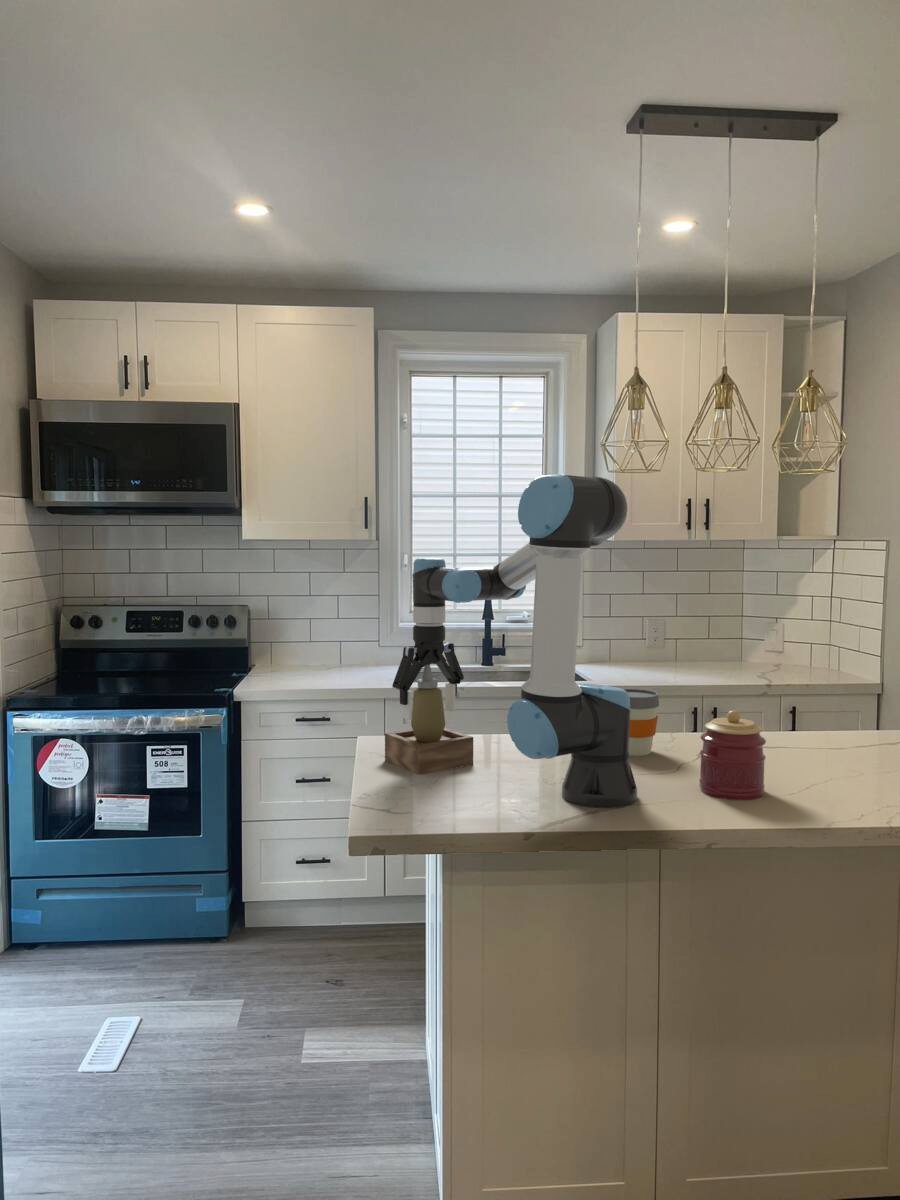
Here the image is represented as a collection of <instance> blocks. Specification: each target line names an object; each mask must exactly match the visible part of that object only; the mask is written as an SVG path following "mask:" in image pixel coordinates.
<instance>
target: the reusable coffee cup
mask: <svg viewBox="0 0 900 1200" xmlns="http://www.w3.org/2000/svg"><path fill="white" fill-rule="evenodd" d="M623 689H624V690H625V691H627V693H628V694H629V697H630V709H631V711H630V736H629V757H630V756H631V757H633V756H634V757H639V756H648V755H651V752H652V746H653V740H654V736H655V735H656V731H657V727H658V726H657V725H658V719H659V716H658V715H657V713H658V708H659V706H660V699H659V693H658V692H656V691H653V690H648V689H641V688H640V689H639V688H623Z"/></svg>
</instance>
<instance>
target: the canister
mask: <svg viewBox="0 0 900 1200" xmlns="http://www.w3.org/2000/svg"><path fill="white" fill-rule="evenodd" d="M704 728H705V729H706V731H705V732H703V733H701V734H700V739H701V740H702V749H701V750H700V752H699V753H700V771H699V772H700V775H699V777H700V778H699V783H698V785H699V789H700V791H701V792H702V793H703V794H705V795H706V796H709V797H713V798H717V799H723V800H728V801H729V800H730V801H751V800H757V799H760V798H763V796H764V794H765V786H766V785H765V760H766V755H765V753H764V745H765V744H766V743H767V739H766V738H764V737H763V736H762V735H761V732H762V731H763V728H762V727H761V726H759V725H757V723H755V722H754V721H753V720H749V719H745V718H741V714H740V713H739V711H737V710H735V709H734V710H729V711H728V712H727V714H726V717H716V718H713V719H712V720H711V721H708V722H706V723H705V725H704Z"/></svg>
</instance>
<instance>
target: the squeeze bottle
mask: <svg viewBox="0 0 900 1200" xmlns="http://www.w3.org/2000/svg"><path fill="white" fill-rule="evenodd" d="M438 682H439V681H438V679H437V678H435V677H433V672H432V668H431V664H430V665H425V666H424V667H423V672H422V677H421V678H419V679H417V688H415V689H414V691H413V694H412V719H410V721H411V722H410V726H411V729H413V732H414V735H415V738H416V740H417V741H420V742H435V741H439V740H440V739H441V737H442V734H443V730H444V728H446V719H445V711H444V710H445V709H444V708H445V707H444V701H443V694H442V692H443V691H442V690H441V688H439V687H438Z"/></svg>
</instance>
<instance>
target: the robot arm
mask: <svg viewBox="0 0 900 1200" xmlns="http://www.w3.org/2000/svg"><path fill="white" fill-rule="evenodd" d="M627 515H628V502H627V497H626V496H625V494H624V492H623V490H622V489H621V488H620V486H619V485H618V484H617V483H615V482H614V481H612V480H610V479H608V478H604V477H601V476H600V477H599V476H582V475H568V474H560V473H558V474H546V475H540V476H537V477H535V478H534V479H533V480H531V481H530V483H529V484H528V486H526V487H525V489H524V490H523V492H522V494H521V496H520V500H519V503H518V507H517V520H518V523H519V525H521V526H520V529H521V530H522V532H523V533H524V534H525V535H526V536H528V537H529V542H528V543H526V544H524V545H523V546H522V547H521V548H519V549H518V550H516V551H515V552H513V553H512V554H511V555H509V556H508V557H506V558H505V559H503V560H501V561H500V562H499V563H497V564H496V565H494V566H484V567H483V566H482V567H481V566H479V567H447V566H446V560H445V559H444V558H439V557H420V558H419V557H418V558H415V560H414V561H413V568H412V570H413V571H412V603H413V604H412V608H413V609H412V622H413V623H414V624H415V625H413V626H412V640H413V642H414V647H411V646H404V647H403V651H402V657H401V661H400V663H399V665H398V668H397V671H396V675H395V677H394V680H393V683H392V686H391V687H392V688H393V689H396V690H399V703H400V705H401V718H402V719H406V720H410V721H411V719H412V707H413V691H412V690H410V689H411V687H412V685H413V684H414V682H415V681H416V678H417V677H418V675H419V674H420V672H421V670H422V669H424V666H425V665H430V666H431V665H436V666H437V667H438V669H439V670H440V672H441V674H443V676H444V678H445V679H446V680H447V682H445V685H444V689H445V691H444V693H445V697H444V699H445V703H444V704H445V707H444V708H445V709H444V710H445V711H449V712H453V713H454V712H456V697H457V695H458V685H459V684H461V681H463V680H464V679H465V676H464V673H463V671H462V668H461V666H460V663H459V660H458V657H457V655H456V652H455V645H454V643H453V642H444V641H446V626H445V623H446V601H447V602H454V603H457V604H460V603H464V604H465V603H470V602H471V603H472V602H473V601H474V602H475V601H476V602H477V601H493V600H494V601H496V600H497V601H498V600H503V601H504V600H505V601H508V600H512V599H517V598H519V597H521V596H522V595H523V594H524V591H525V590H526V589H527V585H528V584H530V583H532V582H534V581H535V584H534V597H533V598H534V601H533V618H532V619H533V620H532V635H531V653H530V670H529V678H528V679H527V680H526V681H525V682H524V683H522V684H521V689H520V690H521V691H520V692H521V693H520V698H519V699H517V700H515V701H514V702H512V704H511V706H509V709H508V711H507V715H506V716H507V717H506V719H507V720H506V724H507V729H508V734H509V736H510V739H511V741H512V742H513V744H514V745H515V747H516V749H517V750H518V751H519V752H520V753H521V754H522V755H524V757H526V758H528V759H532V760H540V759H541V760H542V759H547V760H548V759H554V758H556V757H560V756H561V757H562V756H565V755H566V756H567V755H570V754H571V756H570V761H569V765H568V766H567V770H566V773H565V777H564V780H563V782H562V784H561V785H562V786H561V796H562V798H563V799H564V800H565V801H566V802H569V803H571V804H574V805H577V806H581V807H588V808H595V809H596V808H597V809H614V808H615V809H617V808H623V807H628V806H631V805H633V804H635V803H636V802H637V801H638V787H637V784H636V779H635V777H634V774H633V771H632V767H631V765H630V764H631V763H630V756H629V736H630V711H631V709H630V697H629V694H628V693H627V691H625V690H624V689H625V688H620V687H617V686H616V687H615V686H612V685H611V686H609V685H603V684H597V683H584V682H583V683H581V682H576V680H575V679H576V665H577V649H578V631H579V630H578V629H579V612H580V600H581V596H580V595H581V582H582V581H581V580H582V569H583V567H582V566H583V565H582V563H583V557H584V556H585V555H586V554H587V553H588V552H589V551H590V550H591V549H592V547H593V548H594V547H597V546H599V545H601V544H603V543H604V542H606V541H608V540H609V539H610V538H612V537H613V536H615V535H616V534H617V533H618V532H619V531H620V530H621V529H622V527H623V526H624V523H625V522H626V519H627V517H628V516H627ZM443 654H444V655H443Z"/></svg>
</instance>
